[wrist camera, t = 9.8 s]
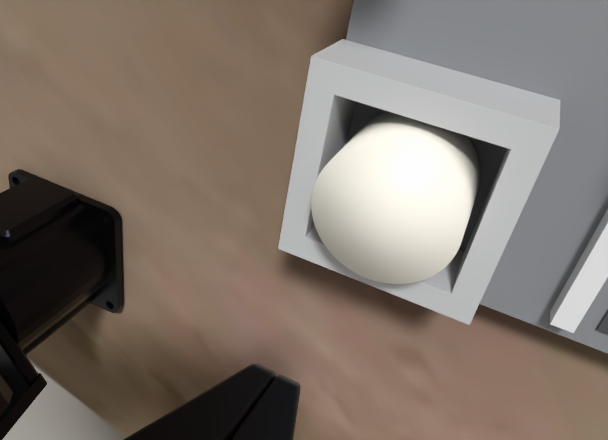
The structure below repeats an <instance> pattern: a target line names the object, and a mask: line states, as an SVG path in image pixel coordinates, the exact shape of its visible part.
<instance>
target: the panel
mask: <svg viewBox="0 0 608 440" xmlns="http://www.w3.org/2000/svg"><path fill="white" fill-rule="evenodd" d="M387 111H389V112H392V113H395V114H398V115H402V116H405V117H408V118H411V119H414V120H418V121H421V122H424V123H427V124H431V125H434V126H437V127H440V128H443V129H447V130H450V131H453V132H456V133H460V134H463V135H466V136H467V137H468V138H469V140H470V141H471V143H472V144H473V146H474V148H475V151H476V153H477V156H478V159H479V164H480V185H479V189H478V193H477V196H476V199H475V202H474V205H473V208H472V211H471V214H470V217H469V221H468V224H467V227H466V230H465V233H464V236H463V239H462V242H461V245H460V247H459V249H458V251H457V253H456V255H455V256H454V258H453V259H452V261H451V262H450V263H449V264H448V265H447V266H446V267H445V268H444V269H442V270H441V271H440V272H438V273H437V274H435V275H433V276H432V277H430V278H427V279H425V280H422V281H418V282H414V283H408V284H388V283H382V282H377V281H374V280H371V279H368V278H365V277H363V276H361V275H358V274H357V273H355V272H353V271H351V270H350V269H348V268H347V267H346V266H344V265H343V264H341V263H340V262H339V261H338V260H337V259H336V258H335V257H334V256H333V255H332V254H331V253H330V252H329V250H328V249H327V248H326V246H325V245H324V244H323V242H322V240H321V238H320V237H319V235H318V232H317V230H316V228H315V224H314V221H313V217H312V210H311V199H312V192H313V188H314V185H315V182H316V180H317V178H318V176H319V174H320V172H321V171H322V169H323V168H324V167H325V166H326V165H327V163H328V162H329V161H330V160H331V159H332V158H333V157H334V156H335V155H336V154H337V153H338V152H339V151H340V150H341V149H342V148H343V147H344V146H345V145H346V144H347V143H348V142H349V141H350V140H351V139H352V138H353V137H354V135H355V134H356V133H357V132H358V131H359V130H360V129H361V128H362V127H363V126H364V125H365V124H367V123H368V122H369V121H370V120H371V119H373V118H375V117H376V116H378V115H380V114H382V113H384V112H387ZM278 249H280V250H283V251H285V252H288V253H290V254H293V255H295V256H298V257H300V258H303V259H305V260H308V261H310V262H313V263H315V264H318V265H320V266H323V267H325V268H328V269H330V270H333V271H335V272H338V273H340V274H343V275H345V276H348V277H350V278H353V279H355V280H358V281H360V282H363V283H365V284H368V285H370V286H373V287H375V288H378V289H380V290H383V291H385V292H388V293H391V294H393V295H396V296H398V297H401V298H403V299H406V300H408V301H411V302H413V303H416V304H418V305H421V306H423V307H426V308H428V309H431V310H433V311H436V312H438V313H441V314H443V315H446V316H448V317H451V318H453V319H456V320H458V321H461V322H463V323H466V324H468V325H470V323H471V321H472V319H473V316H474V314H475V312H476V310H477V308H478V306H479V304H481V305H483V306H486V307H489V308H491V309H494V310H496V311H499V312H502V313H504V314H507V315H509V316H512V317H514V318H517V319H520V320H522V321H525V322H527V323H530V324H533V325H535V326H538V327H540V328H543V329H545V330H548V331H551V332H553V333H556V334H558V335H561V336H564V337H566V338H569V339H571V340H574V341H577V342H579V343H582V344H584V345H587V346H589V347H592V348H595V349H597V350H600V351H602V352H605V353H608V0H354V2H353V7H352V12H351V17H350V22H349V26H348V31H347V36H346V40H345V39H342V40H340V41H338V42H336V43H334V44H332V45H330V46H329V47H327V48H325V49H323V50H321V51H319V52H318V53H316V54H314V55H312V56H311V61H310V66H309V72H308V78H307V84H306V90H305V95H304V101H303V107H302V113H301V119H300V125H299V130H298V136H297V142H296V148H295V154H294V159H293V165H292V171H291V177H290V183H289V188H288V194H287V200H286V206H285V212H284V218H283V223H282V229H281V235H280V241H279V247H278Z"/></svg>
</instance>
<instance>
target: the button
mask: <svg viewBox="0 0 608 440" xmlns="http://www.w3.org/2000/svg"><path fill="white" fill-rule="evenodd" d="M479 185H480V164H479V159H478V156H477V153H476V151H475V148H474V146H473V144H472V143H471V141H470V140H469V138H468V137H467V136H466V135H463V134H460V133H456V132H453V131H450V130H447V129H443V128H440V127H437V126H434V125H431V124H427V123H424V122H421V121H418V120H414V119H411V118H408V117H405V116H402V115H398V114H395V113H392V112H389V111H387V112H384V113H382V114H380V115H378V116H376V117H375V118H373V119H371V120H370V121H369V122H368V123H367V124H365V125H364V126H363V127H362V128H361V129H360V130H359V131H358V132H357V133H356V134H355V135H354V137H353V138H352V139H351V140H350V141H349V142H348V143H347V144H346V145H345V146H344V147H343V148H342V149H341V150H340V151H339V152H338V153H337V154H336V155H335V156H334V157H333V158H332V159H331V160H330V161H329V162H328V163H327V165H326V166H325V167H324V168H323V169H322V171H321V172H320V174H319V176H318V178H317V180H316V182H315V185H314V188H313V192H312V199H311V210H312V217H313V221H314V224H315V228H316V230H317V232H318V235H319V237H320V238H321V240H322V242H323V244H324V245H325V246H326V248H327V249H328V250H329V252H330V253H331V254H332V255H333V256H334V257H335V258H336V259H337V260H338V261H339V262H340V263H341V264H343V265H344V266H346V267H347V268H348V269H350V270H351V271H353V272H355V273H357V274H358V275H361V276H363V277H365V278H368V279H371V280H374V281H377V282H382V283H388V284H408V283H414V282H418V281H422V280H425V279H427V278H430V277H432V276H433V275H435V274H437V273H438V272H440V271H441V270H442V269H444V268H445V267H446V266H447V265H448V264H449V263H450V262H451V261H452V259H453V258H454V256H455V255H456V253H457V251H458V249H459V247H460V245H461V242H462V239H463V236H464V233H465V230H466V227H467V224H468V221H469V217H470V214H471V211H472V208H473V205H474V202H475V199H476V196H477V193H478V189H479Z"/></svg>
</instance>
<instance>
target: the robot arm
mask: <svg viewBox="0 0 608 440" xmlns="http://www.w3.org/2000/svg"><path fill="white" fill-rule="evenodd" d="M9 185H10V189H8V190H6V191H4V192H2V193H0V440H2V439H3V438H4V437H5V435H6V434H7V433H8V432H9V430H10V429H11V428H12V427H13V425H14V424H15V423H16V422H17V420H18V419H19V418H20V417H21V416H22V414H23V413H24V412H25V411H26V409H27V408H28V407H29V406H30V404H31V403H32V402H33V400H35V398H36V397H37V395H39V393H40V392H41V391H42V390H43V388H44V387H45V386H46V385H47V382H46V381H45V379H44V378H43V376H42V375H41V374H40V373H39V374H38V373H37V372H36V370H35V368H34V367H33V365H32V364H31V362H30V361H29V359H28V358H27V357H26V355H27V354H28V353H29V352H30V351H31V350H33V349H34V348H35V347H36V346H38V345H39V344H40V343H41V342H43V341H44V340H45V339H46V338H48V337H49V336H50V335H51V334H52V333H54V332H55V331H56V330H57V329H59V328H60V327H61V326H62V325H64V324H65V323H66V322H67V321H68V320H70V319H71V318H72V317H73V316H75V315H76V314H77V313H78V312H80V311H81V310H82V309H83V308H85V307H86V306H87V305H88V304H89V303H92V304H94V305H96V306H99V307H101V308H103V309H105V310H107V311H109V312H112V313H116V312H117V311H118V310H119V309H120V308H121V307H122V305H123V300H122V263H121V225H120V215H119V213H118V212H117V211H116V210H115V209H114V208H113V207H111V206H108V205H106V204H104V203H101V202H99V201H96V200H94V199H91V198H89V197H87V196H84V195H82V194H79V193H77V192H74V191H72V190H70V189H67V188H65V187H62V186H60V185H57V184H55V183H53V182H50V181H48V180H45V179H43V178H40V177H38V176H36V175H33V174H31V173H28V172H26V171H23V170H20V169H18V170H15V171H13V172H11V173H10V174H9ZM299 395H300V384H299V383H297V382H295V381H293V380H291V379H289V378H287V377H284V376H282V375H278V376H277V377H276V373H275V372H274V371H272V370H269V369H267V368H265V367H263V366H261V365H259V364H252V365H250V366H248V367H246V368H245V369H243V370H241V371H239V372H238V373H236V374H234V375H233V376H231V377H229V378H228V379H226V380H224V381H222V382H221V383H219V384H217V385H216V386H214V387H212V388H211V389H209V390H207V391H205V392H204V393H202V394H200V395H199V396H197V397H195V398H193V399H192V400H190V401H188V402H187V403H185V404H183V405H182V406H180V407H178V408H176V409H175V410H173V411H171V412H170V413H168V414H166V415H165V416H163V417H161V418H159V419H158V420H156V421H154V422H153V423H151V424H149V425H148V426H146V427H144V428H142V429H141V430H139V431H137V432H136V433H134V434H132V435H131V436H129V437H127V438H125V439H124V440H293V437H294V430H295V423H296V416H297V409H298V402H299Z"/></svg>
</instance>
